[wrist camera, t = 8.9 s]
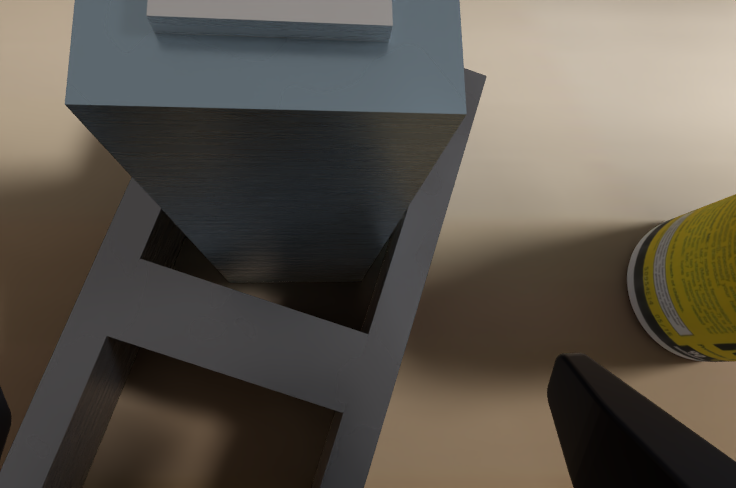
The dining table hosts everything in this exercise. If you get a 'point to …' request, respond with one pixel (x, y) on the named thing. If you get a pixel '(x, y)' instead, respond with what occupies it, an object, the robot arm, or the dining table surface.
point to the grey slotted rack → (228, 336)
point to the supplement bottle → (689, 283)
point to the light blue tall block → (273, 120)
